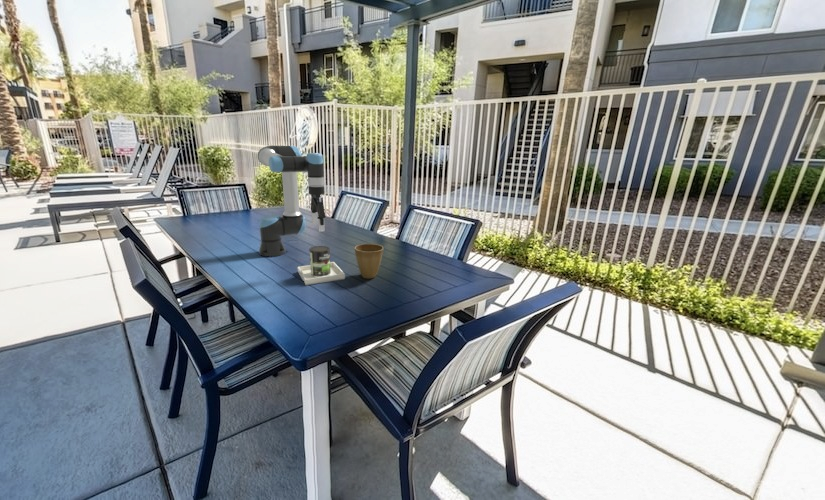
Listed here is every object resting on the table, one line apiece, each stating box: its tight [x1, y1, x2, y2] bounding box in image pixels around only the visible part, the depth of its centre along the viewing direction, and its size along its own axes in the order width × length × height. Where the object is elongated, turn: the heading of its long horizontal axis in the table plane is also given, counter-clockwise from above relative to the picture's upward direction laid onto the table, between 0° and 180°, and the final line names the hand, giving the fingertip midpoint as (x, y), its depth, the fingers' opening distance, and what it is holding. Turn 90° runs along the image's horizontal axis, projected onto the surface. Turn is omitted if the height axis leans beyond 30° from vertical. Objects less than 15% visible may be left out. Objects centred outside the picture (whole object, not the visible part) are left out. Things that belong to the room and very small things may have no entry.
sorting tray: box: [297, 261, 346, 286], centre depth 180 cm, size 20×20×3 cm
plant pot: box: [354, 243, 384, 279], centre depth 179 cm, size 15×15×16 cm
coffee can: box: [308, 245, 331, 277], centre depth 178 cm, size 10×10×14 cm
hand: (318, 228), depth 173 cm, fingers open, 13 cm apart
